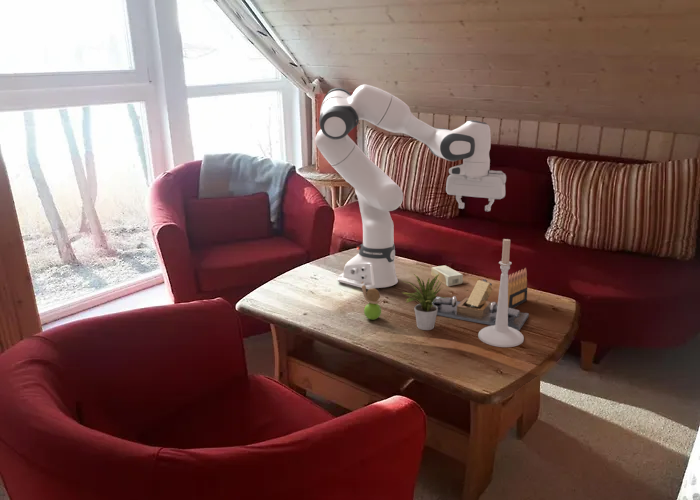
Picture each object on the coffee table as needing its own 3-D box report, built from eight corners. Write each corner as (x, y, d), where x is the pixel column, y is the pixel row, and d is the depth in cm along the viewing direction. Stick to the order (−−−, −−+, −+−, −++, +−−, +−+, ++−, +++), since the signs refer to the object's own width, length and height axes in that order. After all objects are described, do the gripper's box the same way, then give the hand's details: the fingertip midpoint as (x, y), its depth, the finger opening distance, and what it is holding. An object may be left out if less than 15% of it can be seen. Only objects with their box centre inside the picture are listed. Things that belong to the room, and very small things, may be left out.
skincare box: (462, 285, 211) (445, 275, 222) (463, 274, 209) (446, 264, 220) (447, 288, 208) (430, 277, 219) (447, 276, 207) (431, 267, 218)
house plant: (414, 312, 187) (415, 264, 183) (455, 320, 180) (457, 271, 176) (395, 328, 175) (395, 278, 171) (437, 338, 169) (439, 285, 164)
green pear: (365, 314, 187) (365, 278, 183) (384, 317, 184) (384, 281, 181) (358, 320, 182) (357, 284, 179) (376, 323, 179) (376, 287, 176)
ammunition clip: (509, 310, 188) (511, 275, 185) (504, 308, 189) (506, 273, 186) (526, 301, 195) (529, 267, 191) (522, 300, 196) (524, 266, 193)
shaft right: (520, 319, 178) (521, 306, 176) (514, 323, 175) (515, 310, 174) (493, 312, 183) (494, 300, 182) (487, 316, 181) (488, 303, 180)
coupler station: (419, 311, 188) (419, 301, 187) (433, 299, 198) (433, 290, 197) (519, 330, 173) (520, 319, 172) (528, 316, 183) (529, 306, 182)
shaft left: (427, 308, 188) (427, 296, 187) (429, 304, 191) (429, 292, 190) (455, 311, 185) (455, 298, 184) (456, 307, 188) (457, 294, 187)
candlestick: (533, 339, 166) (541, 239, 158) (501, 351, 160) (508, 247, 151) (499, 324, 177) (505, 230, 168) (469, 335, 170) (473, 236, 162)
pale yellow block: (477, 306, 181) (490, 280, 184) (466, 303, 183) (479, 277, 186) (480, 312, 184) (493, 287, 187) (469, 309, 186) (482, 283, 189)
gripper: (509, 170, 192) (507, 210, 196) (451, 166, 203) (450, 205, 207) (503, 172, 187) (501, 214, 191) (444, 168, 198) (443, 208, 202)
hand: (474, 209), depth 199 cm, fingers open, 8 cm apart
